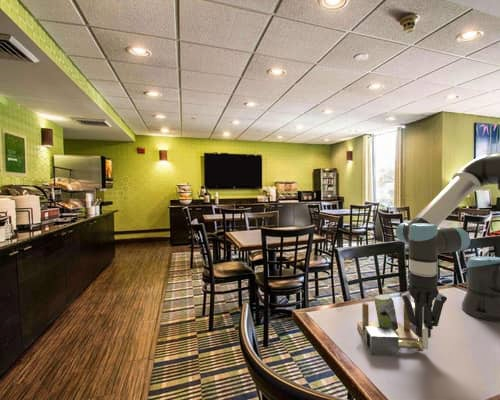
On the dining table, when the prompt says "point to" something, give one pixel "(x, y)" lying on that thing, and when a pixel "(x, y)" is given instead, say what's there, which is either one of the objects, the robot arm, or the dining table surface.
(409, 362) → the dining table surface
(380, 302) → the beverage can
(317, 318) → the dining table surface
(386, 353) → the slot block
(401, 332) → the peg stand
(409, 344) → the pin
